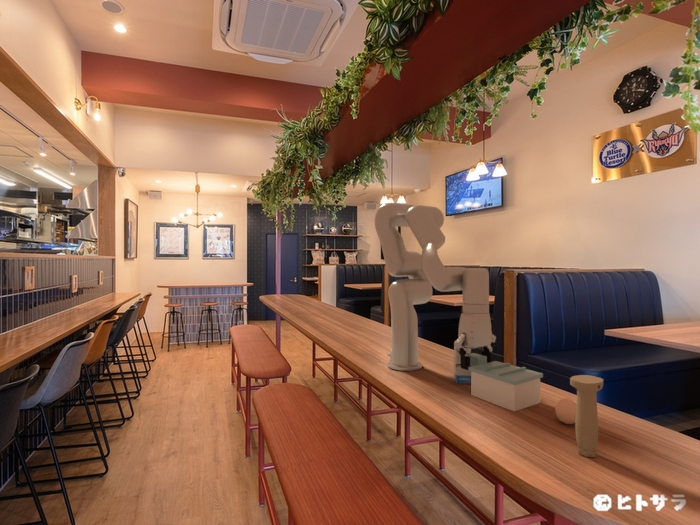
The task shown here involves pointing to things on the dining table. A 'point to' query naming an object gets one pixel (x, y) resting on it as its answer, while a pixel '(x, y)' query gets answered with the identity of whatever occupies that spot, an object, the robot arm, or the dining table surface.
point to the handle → (586, 413)
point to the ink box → (460, 369)
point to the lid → (501, 370)
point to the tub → (505, 392)
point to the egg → (566, 411)
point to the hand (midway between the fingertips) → (475, 366)
